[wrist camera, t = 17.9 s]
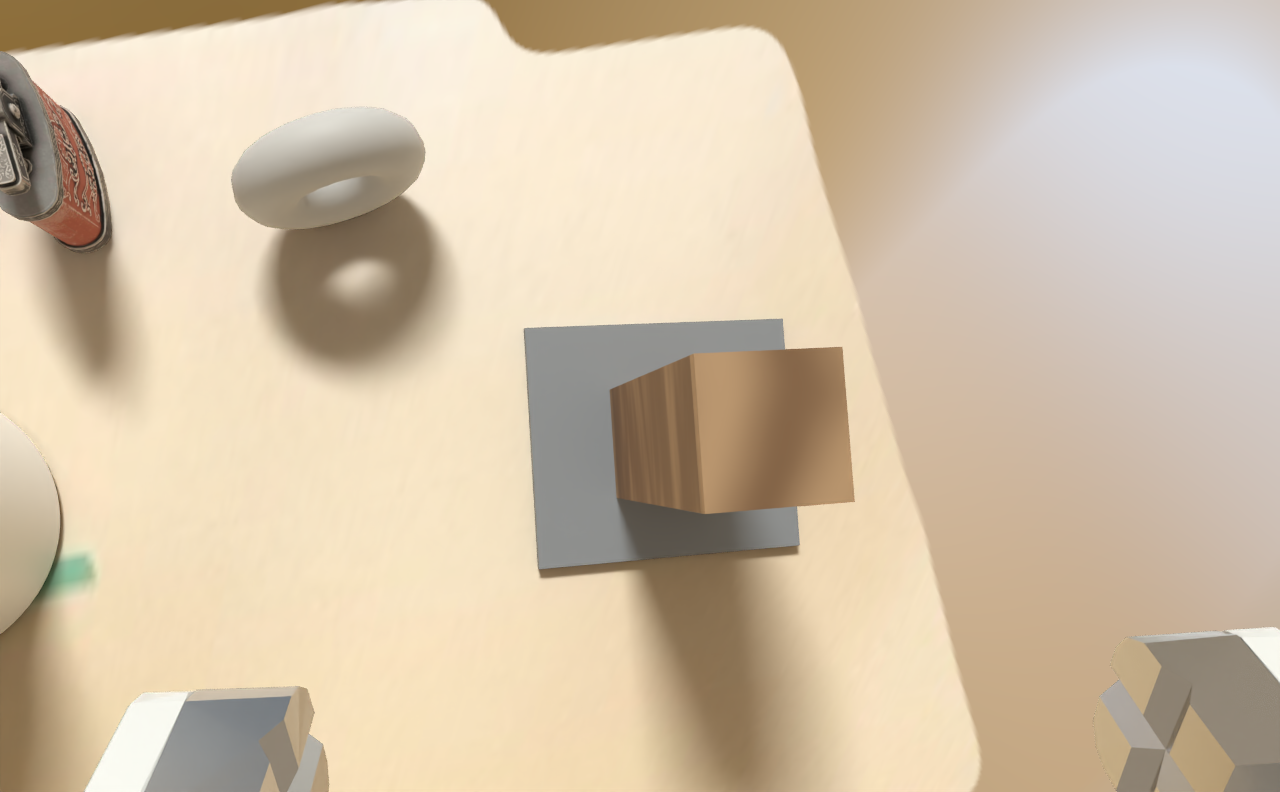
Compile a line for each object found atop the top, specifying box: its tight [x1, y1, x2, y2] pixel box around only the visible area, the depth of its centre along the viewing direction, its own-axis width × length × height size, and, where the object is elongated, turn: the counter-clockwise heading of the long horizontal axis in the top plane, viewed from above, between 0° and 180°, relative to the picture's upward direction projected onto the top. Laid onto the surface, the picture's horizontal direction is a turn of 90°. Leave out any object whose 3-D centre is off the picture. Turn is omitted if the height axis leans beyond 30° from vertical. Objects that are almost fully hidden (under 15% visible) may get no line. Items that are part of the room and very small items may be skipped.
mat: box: [524, 319, 800, 569], centre depth 56 cm, size 16×14×1 cm
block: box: [610, 347, 855, 514], centre depth 47 cm, size 6×6×19 cm
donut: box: [231, 107, 425, 230], centre depth 49 cm, size 10×4×10 cm, turn 112°
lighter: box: [0, 51, 112, 253], centre depth 46 cm, size 8×3×10 cm, turn 17°
